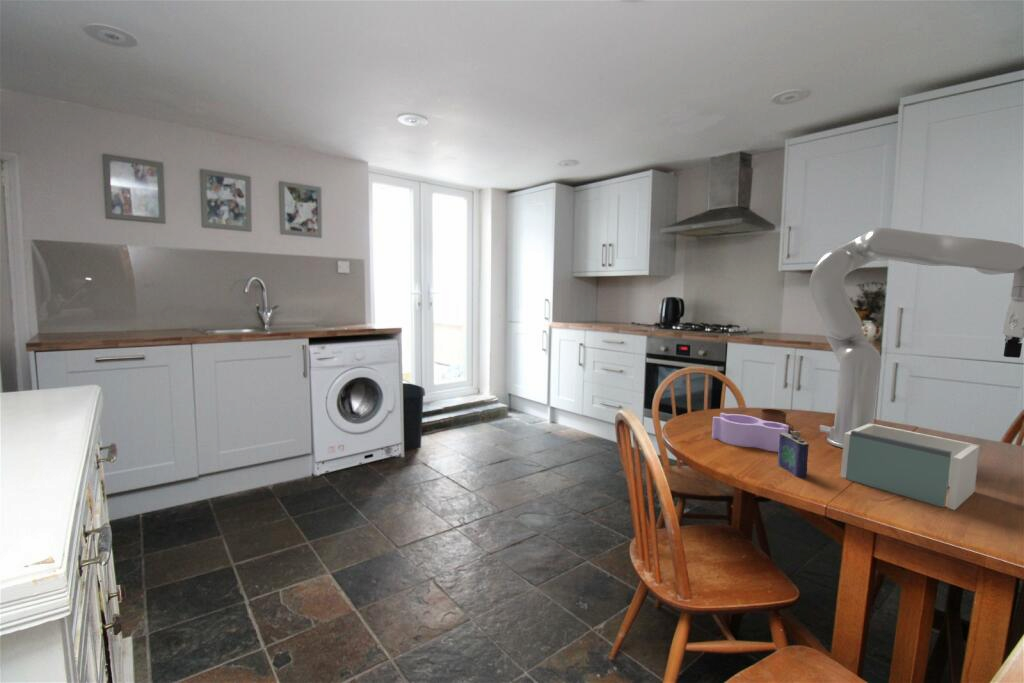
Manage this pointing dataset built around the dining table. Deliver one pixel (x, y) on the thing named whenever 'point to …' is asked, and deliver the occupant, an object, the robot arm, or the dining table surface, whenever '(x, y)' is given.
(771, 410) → the cup and saucer
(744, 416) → the purple cup holder
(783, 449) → the flask
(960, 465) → the teal front storage box
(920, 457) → the panel
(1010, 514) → the dining table surface
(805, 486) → the dining table surface
